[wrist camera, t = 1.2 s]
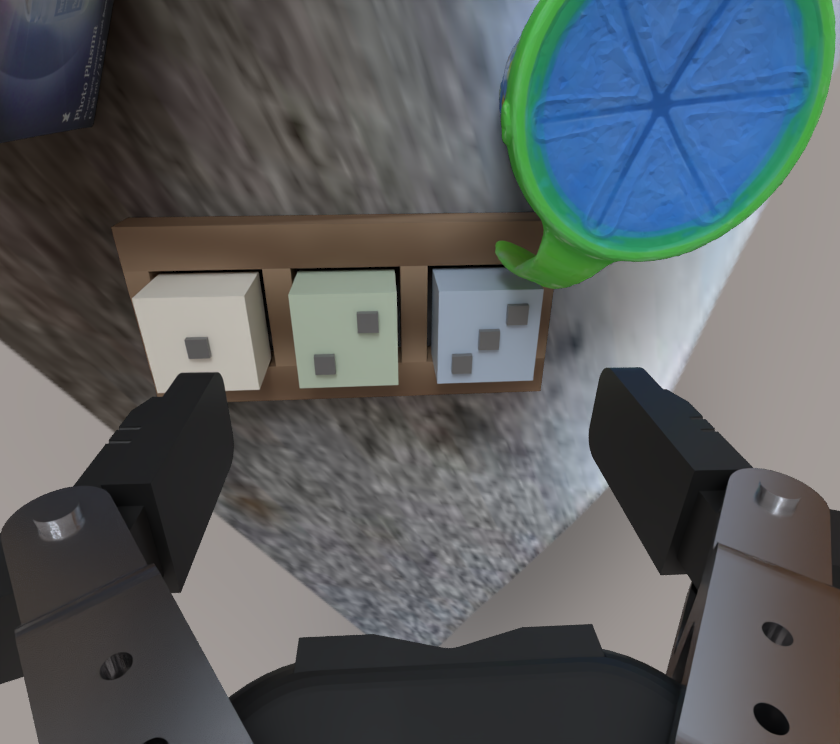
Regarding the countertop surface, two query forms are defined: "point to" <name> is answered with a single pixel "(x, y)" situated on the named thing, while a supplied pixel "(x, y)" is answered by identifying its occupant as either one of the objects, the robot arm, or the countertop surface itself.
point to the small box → (50, 64)
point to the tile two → (345, 327)
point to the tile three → (484, 325)
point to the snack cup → (656, 123)
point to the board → (334, 248)
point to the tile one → (205, 327)
